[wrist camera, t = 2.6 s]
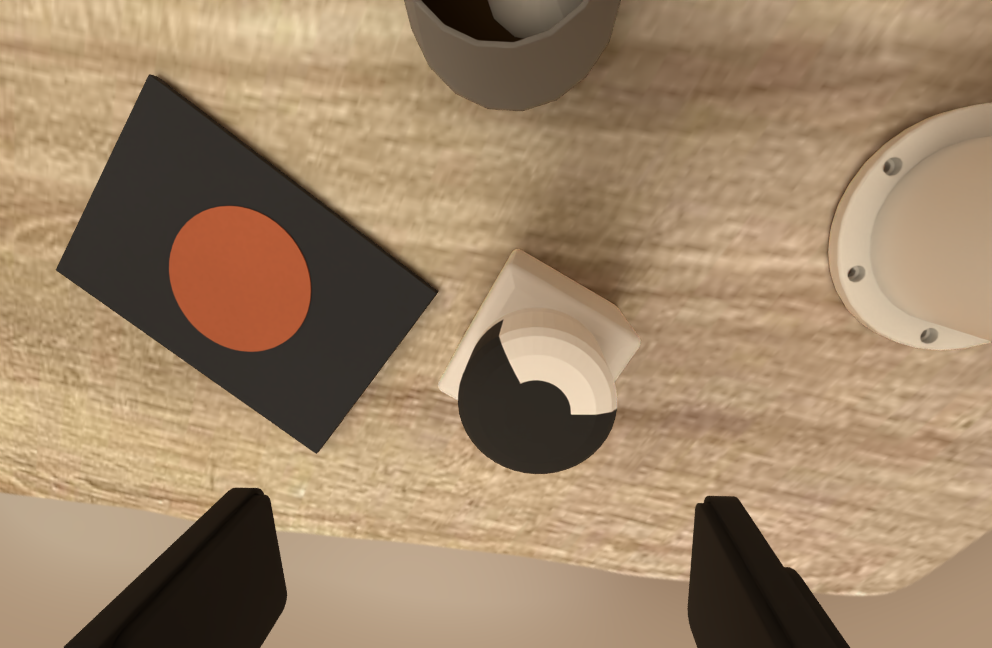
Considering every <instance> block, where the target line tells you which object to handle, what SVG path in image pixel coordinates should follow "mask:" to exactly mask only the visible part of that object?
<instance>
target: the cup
mask: <svg viewBox="0 0 992 648" xmlns="http://www.w3.org/2000/svg"><path fill="white" fill-rule="evenodd" d="M404 2H405V5H406V9H407V13H408V17H409V21H410V25H411V29H412V31H413V33H414V35H415V38H416V40H417V42H418V44H419V46H420V48H421V50H422V52H423V54H424V57H425V59H426V61H427V63H428V65H429V67H430V68H431V69H432V70H433V71H434V72H435V73H436V74H437V75H438V76H439V77H440V78H441V79H442V80H443V81H444V82H445V83H446V84H447V85H448V86H449V87H450V88H451V89H452V90H453V91H454V92H455V93H456V94H457V95H459V96H461V97H464V98H466V99H468V100H470V101H472V102H474V103H476V104H479V105H481V106H483V107H485V108H487V109H496V110H513V111H524V110H527V109H531V108H534V107H537V106H540V105H543V104H546V103H549V102H552V101H555V100H557V99H558V98H560V97H561V96H562V95H564V94H565V93H566V92H567V91H569V90H570V89H571V88H572V87H574V86H575V85H576V84H578V83H579V82H580V81H581V80H583V79H584V78H585V77H586V76H587V75H588V73H589V72H590V70H591V69H592V67H593V66H594V64H595V63H596V61H597V60H598V58H599V57H600V55H601V53H602V52H603V50H604V49H605V47H606V46H607V44H608V43H609V41H610V38H611V34H612V30H613V27H614V23H615V20H616V16H617V12H618V9H619V5H620V2H621V0H404Z"/></svg>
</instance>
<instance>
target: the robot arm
mask: <svg viewBox="0 0 992 648" xmlns="http://www.w3.org/2000/svg"><path fill="white" fill-rule="evenodd" d="M884 165H885V169H884V170H883V168H884ZM828 255H829V266H830V273H831V276H832V280H833V283H834V286H835V289H836V292H837V293H838V295H839V297H840V298H841V300H842V302H843V304H844V305H845V307H846V308H847V310H848V311H849V312H850V313H851V314H852V315H853V316H854V317H855V318H856V319H857V320H858V321H859V322H860V323H861V324H863V325H864V326H866V327H867V328H869V329H870V330H872V331H873V332H875V333H876V334H879V335H881V336H883V337H886V338H888V339H890V340H892V341H895V342H898V343H901V344H904V345H908V346H911V347H915V348H920V349H930V350H954V349H965V348H970V347H974V346H978V345H983V344H987V343H990V342H992V103H983V104H978V105H973V106H967V107H962V108H957V109H954V110H950V111H947V112H944V113H940V114H937V115H934V116H931V117H929V118H927V119H925V120H923V121H921V122H919V123H917V124H915V125H913V126H910V127H908V128H907V129H905V130H904V131H902V132H901V133H899V134H898V135H897V136H895V137H894V138H892V139H891V140H889V141H888V142H887V143H885V144H884V145H883V146H882V147H881V148H880V149H879V150H878V151H877V152H876V153H875V154H874V155H873V156H871V157H870V158H869V159H868V160H867V161H866V162H865V163H864V165H863V166H862V167H861V169H860V170H859V171H858V173H857V174H856V175H855V177H854V178H853V179H852V181H851V182H850V183H849V185H848V187H847V189H846V191H845V193H844V195H843V197H842V199H841V200H840V202H839V204H838V207H837V210H836V213H835V216H834V219H833V222H832V226H831V230H830V238H829V247H828ZM849 270H850V273H849V274H848V272H849ZM286 600H287V590H286V585H285V579H284V573H283V568H282V562H281V557H280V551H279V546H278V540H277V535H276V529H275V524H274V518H273V513H272V507H271V502H270V498H269V497H268V496H267V495H264V493H263V491H262V490H261V489H259V488H232V489H231V490H229V491H228V492H227V493H226V494H225V495H224V496H223V497H222V498H221V499H220V500H219V501H217V502H216V503H215V504H214V505H213V506H212V507H211V508H210V509H209V510H208V511H207V512H206V513H205V514H204V515H203V516H202V517H201V518H199V519H198V520H197V521H196V522H195V523H194V524H193V525H192V526H191V527H190V528H189V529H188V530H187V531H186V532H185V533H184V534H183V535H181V536H180V537H179V539H177V540H176V541H175V542H174V543H173V544H172V545H171V546H170V547H169V548H168V549H167V550H166V551H165V552H164V553H163V554H161V555H160V556H159V557H158V558H157V559H156V560H155V561H154V562H153V563H152V564H151V565H150V566H149V567H148V568H147V569H146V570H145V571H144V572H142V573H141V574H140V575H139V576H138V577H137V578H136V579H135V580H134V581H133V582H132V583H131V584H130V585H129V586H128V587H126V588H125V590H123V591H122V592H121V593H120V594H119V595H118V596H117V597H116V598H115V599H114V600H113V601H112V602H111V603H110V604H109V605H107V606H106V607H105V608H104V609H103V610H102V611H101V612H100V613H99V614H98V615H97V616H96V617H95V618H94V619H93V620H92V621H91V622H89V623H88V624H87V625H86V626H85V627H84V628H83V629H82V630H81V631H80V632H79V633H78V634H77V635H76V636H75V637H74V638H73V639H72V640H70V641H69V642H68V643H67V644H66V645H65V646H64V648H260V647H261V645H262V644H263V642H264V641H265V639H266V637H267V636H268V634H269V633H270V631H271V629H272V628H273V626H274V624H275V623H276V621H277V620H278V618H279V616H280V615H281V613H282V611H283V609H284V607H285V604H286ZM688 618H689V624H690V628H691V631H692V633H693V636H694V639H695V642H696V645H697V648H850V647H849V645H848V644H847V643H846V641H845V640H844V638H843V637H842V635H841V634H840V633H839V631H838V630H837V628H836V627H835V625H834V624H833V622H832V621H831V619H830V618H829V617H828V615H827V614H826V612H825V611H824V609H823V608H822V607H821V605H820V604H819V602H818V601H817V599H816V598H815V597H814V595H813V594H812V592H811V591H810V589H809V588H808V586H807V585H806V583H805V582H804V581H803V579H802V578H801V576H800V575H799V574H798V573H797V572H796V571H795V570H794V569H792V568H790V567H783V565H782V564H781V562H780V561H779V559H778V558H777V556H776V555H775V553H774V552H773V550H772V549H771V547H770V546H769V544H768V543H767V541H766V540H765V538H764V537H763V535H762V534H761V532H760V531H759V529H758V528H757V526H756V525H755V523H754V522H753V520H752V519H751V517H750V516H749V514H748V513H747V511H746V510H745V508H744V507H743V505H742V504H741V502H740V501H739V499H738V498H737V497H734V496H707V497H706V498H705V500H704V503H698V504H697V505H696V508H695V519H694V532H693V545H692V558H691V571H690V584H689V597H688Z"/></svg>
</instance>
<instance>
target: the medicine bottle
mask: <svg viewBox="0 0 992 648" xmlns="http://www.w3.org/2000/svg"><path fill="white" fill-rule="evenodd" d="M640 344H641V339H640V337H639V336H638V334H637V333H636V332H635V330H634V329H633V328H632V326H631V325H630V324H629V322H628V321H627V320H626V318H625V317H624V315H623V314H622V313H621V311H620V310H619V309H618V307H617V306H616V305H614V304H613V303H611V302H609V301H608V300H606V299H604V298H603V297H601V296H599V295H597V294H596V293H594V292H592V291H591V290H589V289H587V288H586V287H584V286H582V285H580V284H579V283H577V282H575V281H574V280H572V279H570V278H568V277H567V276H565V275H563V274H562V273H560V272H558V271H557V270H555V269H553V268H551V267H550V266H548V265H546V264H545V263H543V262H541V261H540V260H538V259H536V258H534V257H533V256H531V255H529V254H528V253H526V252H524V251H522V250H521V249H515V250H514V251H513V252H512V253H511V255H510V256H509V258H508V260H507V262H506V263H505V265H504V267H503V268H502V270H501V272H500V274H499V275H498V277H497V279H496V281H495V282H494V284H493V286H492V288H491V289H490V291H489V293H488V294H487V296H486V298H485V300H484V301H483V303H482V305H481V307H480V308H479V310H478V312H477V313H476V315H475V317H474V319H473V320H472V322H471V324H470V326H469V327H468V329H467V331H466V332H465V334H464V336H463V338H462V339H461V341H460V343H459V345H458V347H457V348H456V350H455V352H454V354H453V356H452V358H451V360H450V361H449V363H448V365H447V367H446V369H445V371H444V373H443V374H442V376H441V378H440V380H439V383H438V386H439V389H440V390H441V391H442V392H444V393H445V394H447V395H449V396H451V397H453V398H454V399H456V400H458V407H459V414H460V418H461V421H462V424H463V426H464V428H465V431H466V433H467V434H468V436H469V438H470V439H471V441H472V442H473V443H474V444H475V446H476V447H477V448H478V449H479V450H480V451H481V452H482V453H483V454H485V455H486V456H487V457H488V458H490V459H491V460H493V461H494V462H496V463H498V464H500V465H502V466H504V467H506V468H509V469H512V470H514V471H519V472H523V473H531V474H548V473H555V472H559V471H563V470H566V469H569V468H571V467H574V466H576V465H578V464H579V463H581V462H583V461H585V460H586V459H587V458H589V457H590V456H591V455H592V454H594V453H595V452H596V451H597V450H598V449H599V448H600V447H601V445H602V444H603V442H604V441H605V440H606V438H607V437H608V435H609V433H610V431H611V429H612V426H613V423H614V420H615V416H616V411H617V393H616V387H615V381H616V380H617V378H618V377H619V375H620V374H621V373H622V371H623V370H624V368H625V367H626V365H627V364H628V363H629V361H630V360H631V358H632V357H633V355H634V354H635V353H636V351H637V350H638V348H639V347H640Z"/></svg>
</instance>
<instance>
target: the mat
mask: <svg viewBox="0 0 992 648" xmlns="http://www.w3.org/2000/svg"><path fill="white" fill-rule="evenodd" d="M56 271H58V272H59V273H61V274H62V275H64V276H65V277H66V278H68V279H69V280H71V281H72V282H73V283H75V284H76V285H78V286H79V287H81V288H82V289H83V290H85V291H86V292H88V293H89V294H90V295H92V296H93V297H95V298H96V299H98V300H99V301H100V302H102V303H103V304H105V305H106V306H107V307H109V308H110V309H112V310H113V311H115V312H116V313H117V314H119V315H120V316H122V317H123V318H125V319H126V320H127V321H129V322H130V323H132V324H133V325H134V326H136V327H137V328H139V329H140V330H142V331H143V332H144V333H146V334H147V335H149V336H150V337H151V338H153V339H154V340H156V341H157V342H159V343H160V344H161V345H163V346H164V347H166V348H167V349H168V350H170V351H171V352H173V353H174V354H176V355H177V356H178V357H180V358H181V359H183V360H184V361H185V362H187V363H188V364H190V365H191V366H193V367H194V368H195V369H197V370H198V371H200V372H201V373H202V374H204V375H205V376H207V377H208V378H210V379H211V380H212V381H214V382H215V383H217V384H218V385H220V386H221V387H222V388H224V389H225V390H227V391H228V392H229V393H231V394H232V395H234V396H235V397H237V398H238V399H239V400H241V401H242V402H244V403H245V404H246V405H248V406H249V407H251V408H252V409H254V410H255V411H256V412H258V413H259V414H261V415H262V416H263V417H265V418H266V419H268V420H269V421H271V422H272V423H273V424H275V425H276V426H278V427H279V428H280V429H282V430H283V431H285V432H286V433H288V434H289V435H290V436H292V437H293V438H295V439H296V440H297V441H299V442H300V443H302V444H303V445H305V446H306V447H307V448H309V449H310V450H312V451H313V452H315V453H316V454H317V453H318V452H319V451H320V449H321V448H322V447H323V445H324V444H325V443H326V441H327V440H328V439H329V437H330V436H331V435H332V433H333V432H334V431H335V429H336V428H337V427H338V425H339V424H340V423H341V421H342V420H343V419H344V417H345V416H346V415H347V413H348V412H349V411H350V409H351V408H352V407H353V405H354V404H355V403H356V401H357V400H358V399H359V397H360V396H361V395H362V393H363V392H364V391H365V389H366V388H367V387H368V385H369V384H370V383H371V381H372V380H373V379H374V377H375V376H376V375H377V373H378V372H379V371H380V369H381V368H382V367H383V365H384V364H385V362H386V361H387V360H388V358H389V357H390V356H391V354H392V353H393V352H394V350H395V349H396V348H397V346H398V345H399V344H400V342H401V341H402V340H403V338H404V337H405V336H406V334H407V333H408V332H409V330H410V329H411V328H412V326H413V325H414V324H415V322H416V321H417V320H418V318H419V317H420V316H421V314H422V313H423V312H424V310H425V309H426V308H427V306H428V305H429V304H430V302H431V301H432V300H433V298H434V297H435V296H436V294H437V293H438V291H437V290H436V289H434V288H433V287H432V286H430V285H429V284H428V283H426V282H425V281H424V280H423V279H421V278H420V277H419V276H417V275H416V274H415V273H413V272H412V271H411V270H409V269H408V268H407V267H406V266H404V265H403V264H402V263H400V262H399V261H398V260H396V259H395V258H394V257H392V256H391V255H390V254H389V253H387V252H386V251H385V250H383V249H382V248H381V247H379V246H378V245H377V244H375V243H374V242H373V241H372V240H370V239H369V238H368V237H366V236H365V235H364V234H362V233H361V232H360V231H358V230H357V229H356V228H355V227H353V226H352V225H351V224H349V223H348V222H347V221H345V220H344V219H343V218H341V217H340V216H339V215H338V214H336V213H335V212H334V211H332V210H331V209H330V208H328V207H327V206H326V205H324V204H323V203H322V202H321V201H319V200H318V199H317V198H315V197H314V196H313V195H311V194H310V193H309V192H307V191H306V190H305V189H304V188H302V187H301V186H300V185H298V184H297V183H296V182H294V181H293V180H292V179H290V178H289V177H288V176H287V175H285V174H284V173H283V172H281V171H280V170H279V169H277V168H276V167H275V166H273V165H272V164H271V163H270V162H268V161H267V160H266V159H264V158H263V157H262V156H260V155H259V154H258V153H256V152H255V151H254V150H253V149H251V148H250V147H249V146H247V145H246V144H245V143H243V142H242V141H241V140H239V139H238V138H237V137H236V136H234V135H233V134H232V133H230V132H229V131H228V130H226V129H225V128H224V127H222V126H221V125H220V124H219V123H217V122H216V121H215V120H213V119H212V118H211V117H209V116H208V115H207V114H205V113H204V112H203V111H202V110H200V109H199V108H198V107H196V106H195V105H194V104H192V103H191V102H190V101H188V100H187V99H186V98H185V97H183V96H182V95H181V94H179V93H178V92H177V91H175V90H174V89H173V88H171V87H170V86H169V85H168V84H166V83H165V82H164V81H162V80H161V79H160V78H158V77H157V76H154V75H150V74H149V76H148V78H147V80H146V82H145V84H144V86H143V88H142V90H141V92H140V95H139V97H138V99H137V101H136V103H135V105H134V107H133V109H132V111H131V113H130V116H129V118H128V120H127V122H126V124H125V126H124V128H123V130H122V132H121V134H120V137H119V139H118V141H117V143H116V145H115V147H114V149H113V151H112V153H111V155H110V157H109V160H108V162H107V164H106V166H105V168H104V170H103V172H102V174H101V176H100V178H99V181H98V183H97V185H96V187H95V189H94V191H93V193H92V195H91V197H90V199H89V202H88V204H87V206H86V208H85V210H84V212H83V214H82V216H81V218H80V220H79V222H78V225H77V227H76V229H75V231H74V233H73V235H72V237H71V239H70V241H69V243H68V246H67V248H66V250H65V252H64V254H63V256H62V258H61V260H60V262H59V264H58V266H57V269H56Z"/></svg>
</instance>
